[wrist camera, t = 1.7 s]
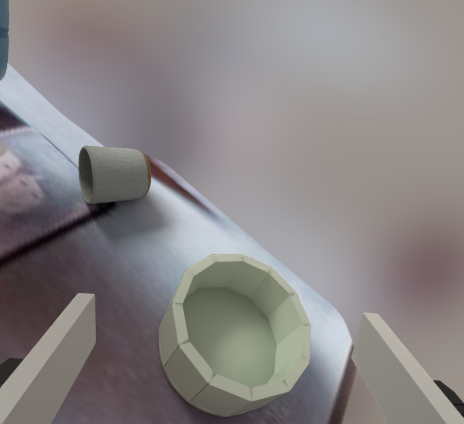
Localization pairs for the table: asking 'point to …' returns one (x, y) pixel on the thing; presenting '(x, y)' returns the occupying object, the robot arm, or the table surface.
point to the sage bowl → (233, 336)
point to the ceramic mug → (113, 174)
